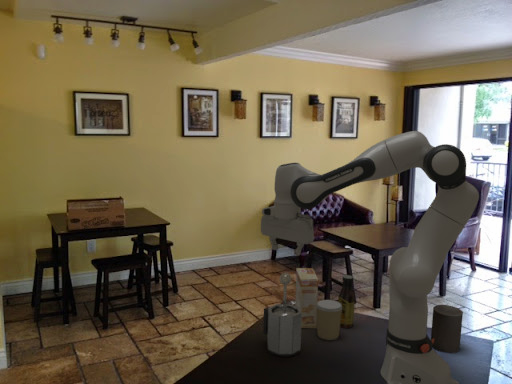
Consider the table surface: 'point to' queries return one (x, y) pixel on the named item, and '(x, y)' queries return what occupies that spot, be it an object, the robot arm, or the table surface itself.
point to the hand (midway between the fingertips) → (286, 252)
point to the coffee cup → (328, 319)
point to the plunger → (285, 280)
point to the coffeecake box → (307, 296)
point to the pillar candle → (446, 328)
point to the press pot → (283, 331)
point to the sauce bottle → (347, 302)
